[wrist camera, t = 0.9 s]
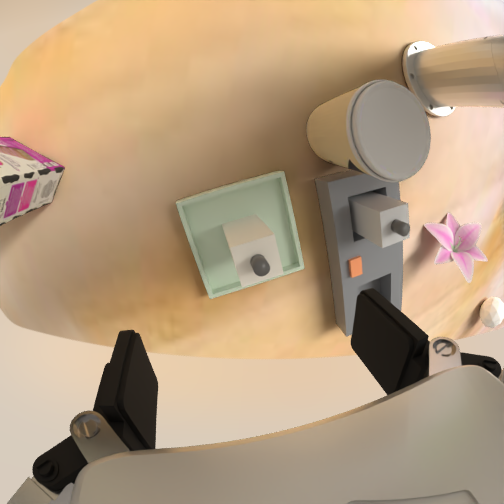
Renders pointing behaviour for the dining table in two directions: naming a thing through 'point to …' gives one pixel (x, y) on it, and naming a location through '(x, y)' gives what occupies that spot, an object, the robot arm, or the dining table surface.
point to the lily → (457, 244)
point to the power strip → (356, 246)
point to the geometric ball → (492, 312)
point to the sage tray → (232, 208)
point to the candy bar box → (25, 179)
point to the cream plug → (253, 249)
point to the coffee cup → (372, 131)
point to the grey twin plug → (379, 218)
